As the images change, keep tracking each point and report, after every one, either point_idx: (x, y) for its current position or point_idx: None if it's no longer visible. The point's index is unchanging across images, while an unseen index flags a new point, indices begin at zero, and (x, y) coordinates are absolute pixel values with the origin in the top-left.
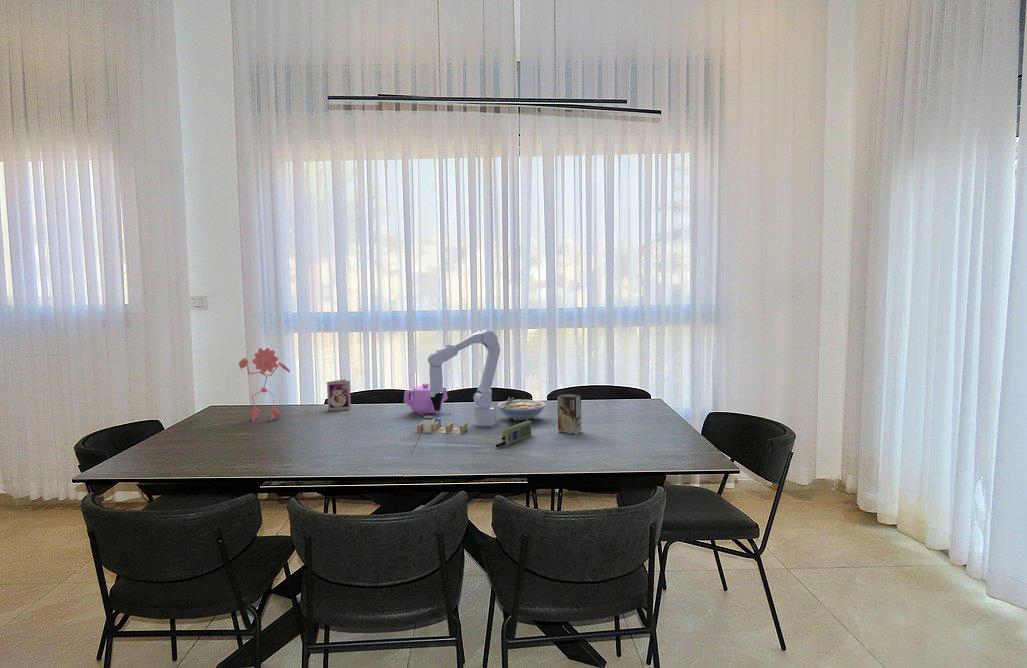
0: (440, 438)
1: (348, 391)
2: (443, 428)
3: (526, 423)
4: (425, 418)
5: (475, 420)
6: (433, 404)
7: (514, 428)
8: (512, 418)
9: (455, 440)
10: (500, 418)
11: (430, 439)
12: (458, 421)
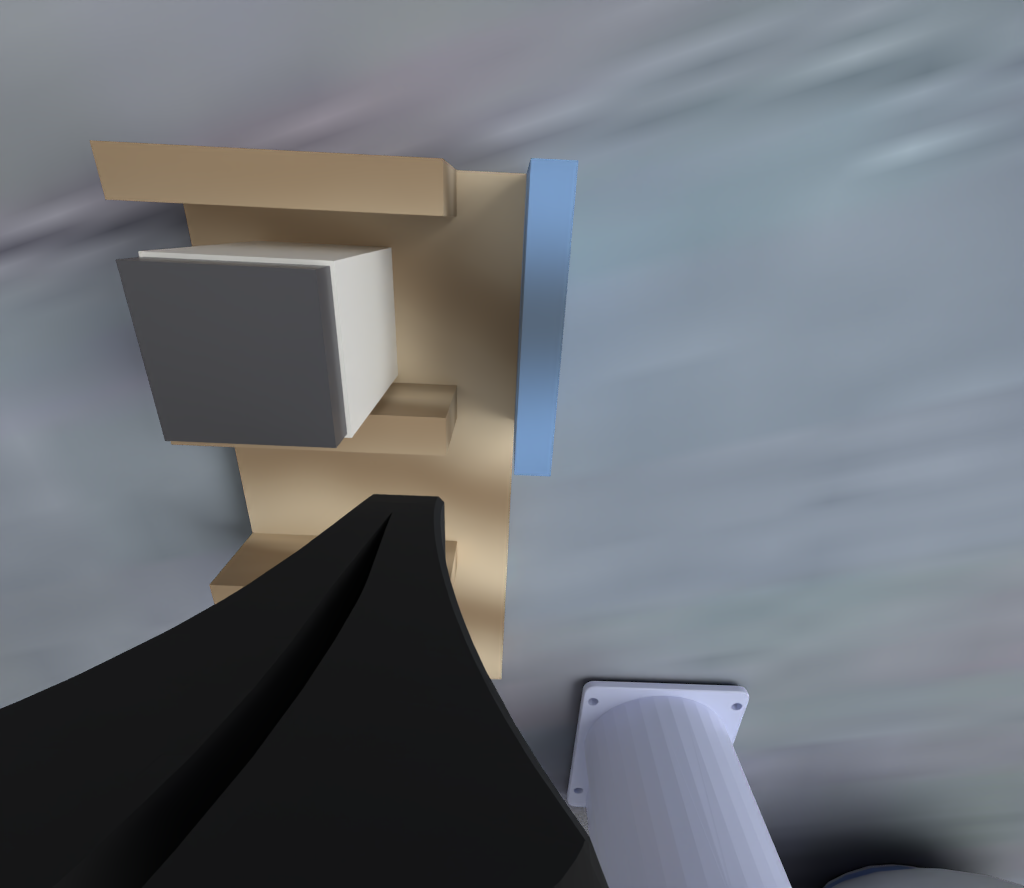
0: (128, 497)
1: None
2: (459, 465)
3: None
4: (143, 308)
5: (636, 756)
6: (269, 581)
7: None
8: (833, 886)
9: (119, 630)
10: (946, 796)
11: (41, 408)
12: (924, 512)
